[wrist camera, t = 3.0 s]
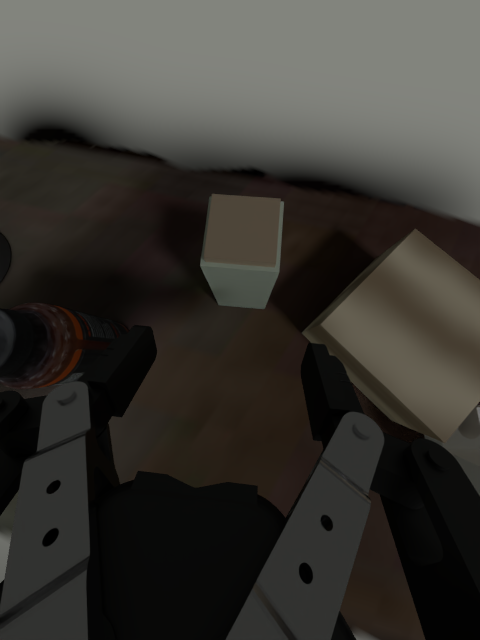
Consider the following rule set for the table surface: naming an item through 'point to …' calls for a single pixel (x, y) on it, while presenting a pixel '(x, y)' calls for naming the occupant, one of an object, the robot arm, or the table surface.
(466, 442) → the cable organizer
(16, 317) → the supplement bottle
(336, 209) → the table surface
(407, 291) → the beech block
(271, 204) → the sage canister
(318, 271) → the table surface
